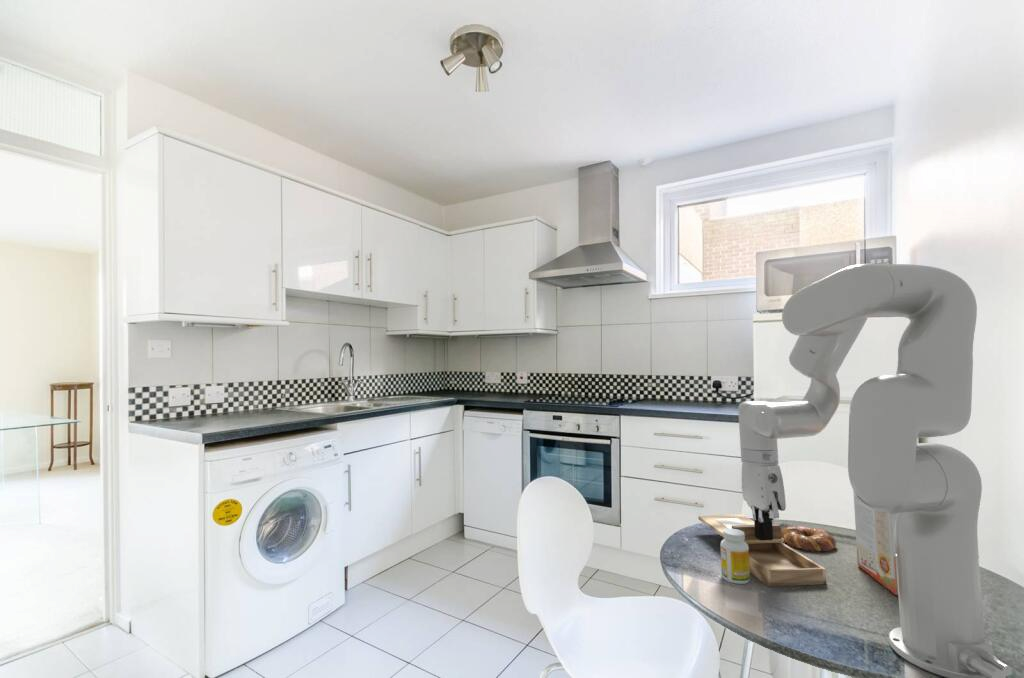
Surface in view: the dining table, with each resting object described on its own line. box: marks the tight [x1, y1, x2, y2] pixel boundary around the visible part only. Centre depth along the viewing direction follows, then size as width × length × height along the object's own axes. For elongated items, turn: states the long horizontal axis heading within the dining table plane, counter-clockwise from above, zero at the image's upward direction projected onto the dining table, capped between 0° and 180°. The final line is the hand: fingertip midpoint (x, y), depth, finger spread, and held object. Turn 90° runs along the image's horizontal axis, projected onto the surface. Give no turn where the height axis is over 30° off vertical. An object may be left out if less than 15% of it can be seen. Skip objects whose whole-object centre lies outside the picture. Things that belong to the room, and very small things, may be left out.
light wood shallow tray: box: [747, 542, 827, 588], centre depth 104 cm, size 18×12×3 cm, turn 3°
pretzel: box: [781, 525, 837, 552], centre depth 116 cm, size 12×11×4 cm
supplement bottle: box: [719, 529, 751, 585], centre depth 98 cm, size 5×5×10 cm
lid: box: [697, 514, 784, 544], centre depth 117 cm, size 18×12×4 cm, turn 3°
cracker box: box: [852, 489, 898, 596], centre depth 96 cm, size 14×6×21 cm, turn 168°
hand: (764, 538), depth 106 cm, fingers closed
